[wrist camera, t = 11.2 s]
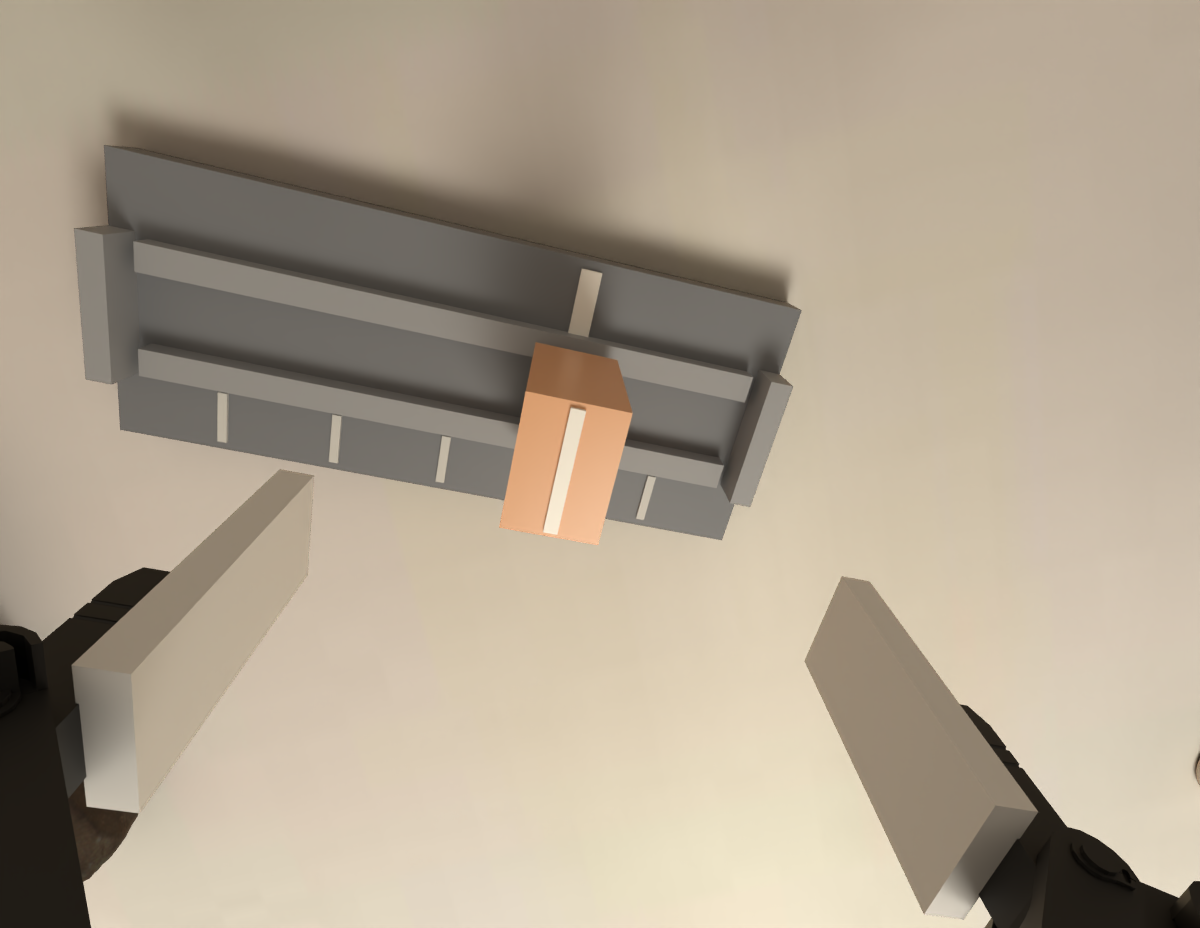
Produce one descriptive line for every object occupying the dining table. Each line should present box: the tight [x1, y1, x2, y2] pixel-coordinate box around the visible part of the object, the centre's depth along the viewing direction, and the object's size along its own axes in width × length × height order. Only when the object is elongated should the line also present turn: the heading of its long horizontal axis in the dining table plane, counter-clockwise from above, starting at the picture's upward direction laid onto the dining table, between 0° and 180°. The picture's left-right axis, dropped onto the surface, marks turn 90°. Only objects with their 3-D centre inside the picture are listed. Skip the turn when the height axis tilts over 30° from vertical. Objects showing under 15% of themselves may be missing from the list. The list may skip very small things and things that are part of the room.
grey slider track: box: [74, 145, 801, 540], centre depth 29 cm, size 12×29×4 cm, turn 77°
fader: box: [499, 342, 633, 545], centre depth 26 cm, size 5×4×9 cm
